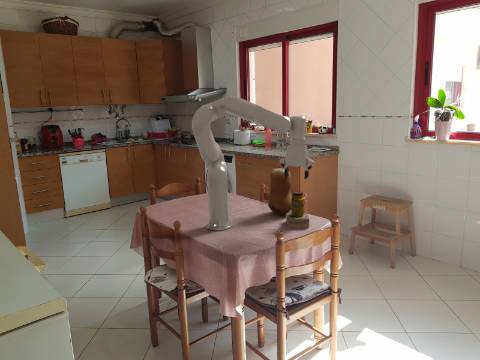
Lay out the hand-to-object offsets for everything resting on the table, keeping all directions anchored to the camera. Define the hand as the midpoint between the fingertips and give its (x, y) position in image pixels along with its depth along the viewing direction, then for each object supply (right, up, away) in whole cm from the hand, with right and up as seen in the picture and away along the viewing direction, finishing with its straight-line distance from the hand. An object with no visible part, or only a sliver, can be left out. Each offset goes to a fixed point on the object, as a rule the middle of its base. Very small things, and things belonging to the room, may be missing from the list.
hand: (296, 177), depth 183 cm
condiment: (0, -19, +3) cm, 20 cm away
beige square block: (+1, -24, +5) cm, 24 cm away
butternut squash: (-5, -20, +22) cm, 30 cm away
